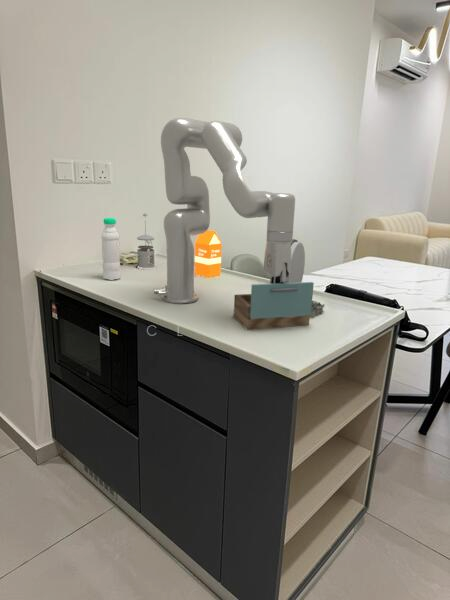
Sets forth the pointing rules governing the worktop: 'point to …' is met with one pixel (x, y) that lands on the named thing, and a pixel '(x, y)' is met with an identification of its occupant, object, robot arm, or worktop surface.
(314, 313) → the egg carton
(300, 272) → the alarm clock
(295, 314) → the light blue flat panel
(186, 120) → the robot arm
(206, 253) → the orange juice
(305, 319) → the wooden open box
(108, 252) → the water bottle
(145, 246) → the french press
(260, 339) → the worktop surface
